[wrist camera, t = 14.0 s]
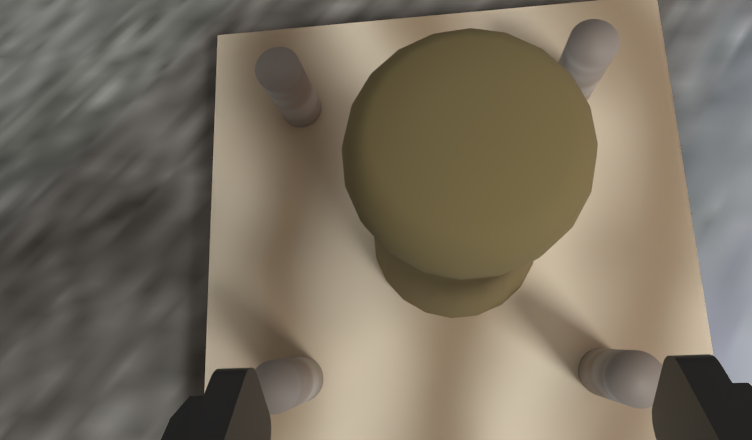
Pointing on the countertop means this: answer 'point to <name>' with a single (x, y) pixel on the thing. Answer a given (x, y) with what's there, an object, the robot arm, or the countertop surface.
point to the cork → (467, 166)
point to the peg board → (403, 320)
